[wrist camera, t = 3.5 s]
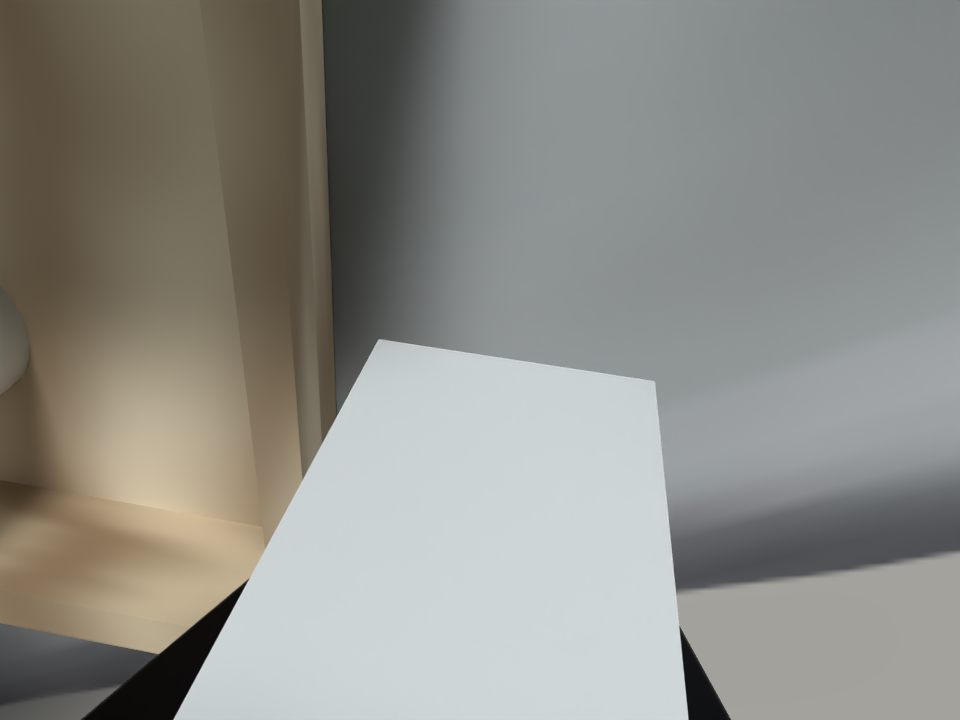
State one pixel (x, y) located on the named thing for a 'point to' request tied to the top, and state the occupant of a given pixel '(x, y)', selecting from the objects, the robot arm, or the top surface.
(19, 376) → the white rounded cylinder
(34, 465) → the tray
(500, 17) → the top surface
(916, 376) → the top surface
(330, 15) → the top surface
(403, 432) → the white box
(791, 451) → the top surface
